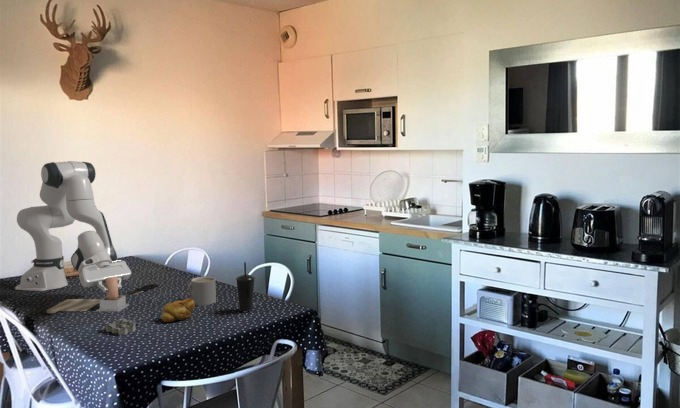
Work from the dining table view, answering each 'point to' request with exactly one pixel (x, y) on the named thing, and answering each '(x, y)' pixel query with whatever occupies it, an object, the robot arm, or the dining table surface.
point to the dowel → (112, 288)
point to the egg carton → (121, 326)
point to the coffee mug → (203, 290)
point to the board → (74, 305)
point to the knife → (142, 289)
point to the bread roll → (178, 310)
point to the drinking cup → (245, 290)
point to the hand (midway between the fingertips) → (112, 290)
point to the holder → (113, 304)
